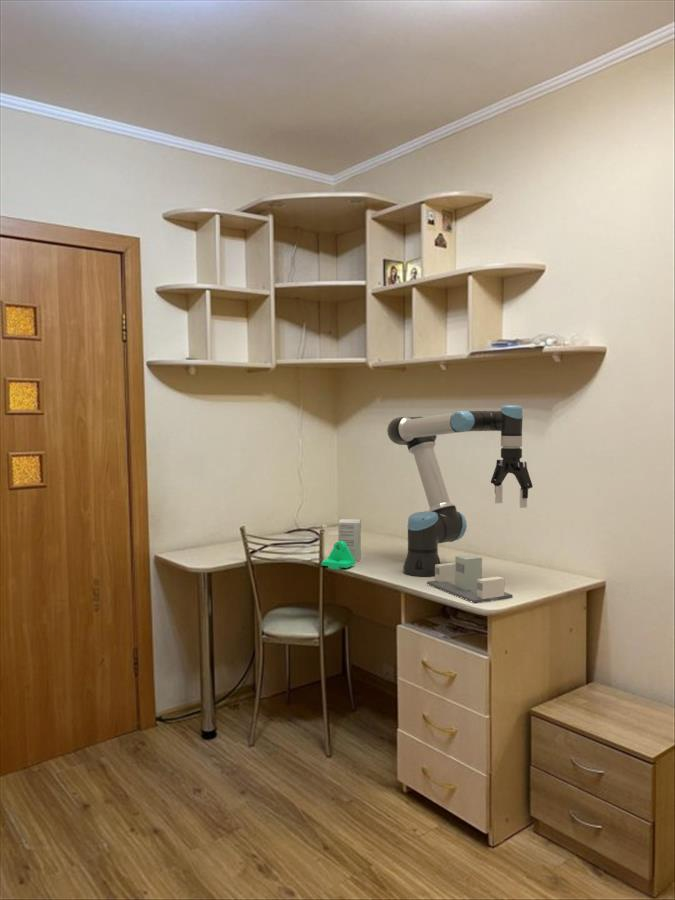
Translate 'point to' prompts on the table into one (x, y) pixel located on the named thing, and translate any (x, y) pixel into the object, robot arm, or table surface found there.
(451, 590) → the rail plate
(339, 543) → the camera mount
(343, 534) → the supplement box
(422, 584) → the table surface
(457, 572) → the block
